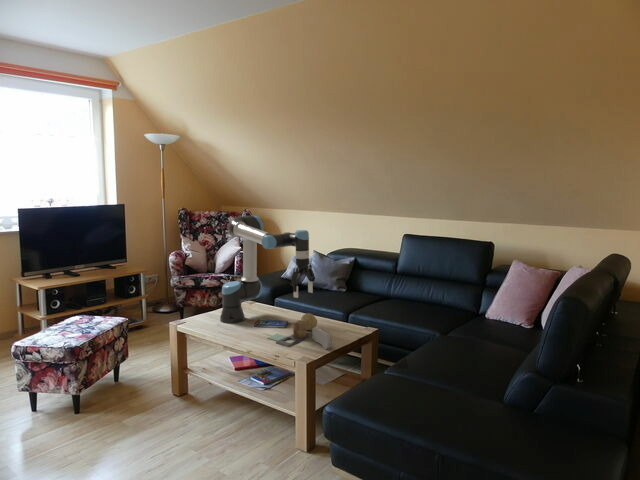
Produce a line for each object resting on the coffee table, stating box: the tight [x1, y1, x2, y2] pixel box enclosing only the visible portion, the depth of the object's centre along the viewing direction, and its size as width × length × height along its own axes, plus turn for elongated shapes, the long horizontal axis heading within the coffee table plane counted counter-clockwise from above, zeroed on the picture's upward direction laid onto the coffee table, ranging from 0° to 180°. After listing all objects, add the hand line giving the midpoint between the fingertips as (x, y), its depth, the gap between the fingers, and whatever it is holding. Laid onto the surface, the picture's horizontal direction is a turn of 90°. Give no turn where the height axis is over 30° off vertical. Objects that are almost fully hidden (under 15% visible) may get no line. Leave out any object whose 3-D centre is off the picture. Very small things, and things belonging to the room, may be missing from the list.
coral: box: [300, 312, 318, 331], centre depth 284 cm, size 10×10×10 cm
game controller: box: [311, 326, 332, 350], centre depth 258 cm, size 20×2×8 cm, turn 26°
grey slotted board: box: [275, 331, 313, 348], centre depth 267 cm, size 9×22×1 cm, turn 143°
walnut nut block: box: [292, 319, 307, 338], centre depth 270 cm, size 5×5×9 cm
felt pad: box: [266, 333, 289, 342], centre depth 269 cm, size 8×8×1 cm
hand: (303, 294), depth 273 cm, fingers open, 13 cm apart
